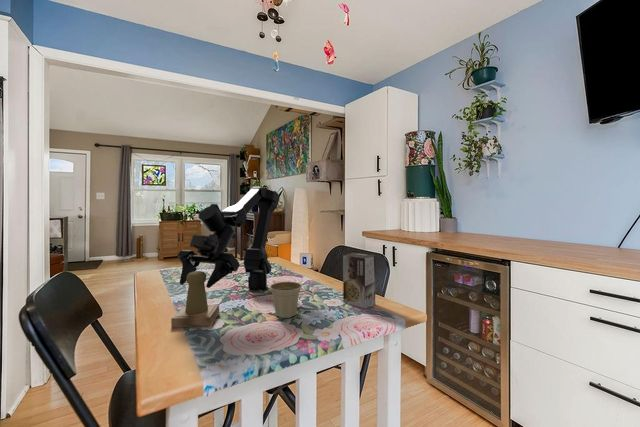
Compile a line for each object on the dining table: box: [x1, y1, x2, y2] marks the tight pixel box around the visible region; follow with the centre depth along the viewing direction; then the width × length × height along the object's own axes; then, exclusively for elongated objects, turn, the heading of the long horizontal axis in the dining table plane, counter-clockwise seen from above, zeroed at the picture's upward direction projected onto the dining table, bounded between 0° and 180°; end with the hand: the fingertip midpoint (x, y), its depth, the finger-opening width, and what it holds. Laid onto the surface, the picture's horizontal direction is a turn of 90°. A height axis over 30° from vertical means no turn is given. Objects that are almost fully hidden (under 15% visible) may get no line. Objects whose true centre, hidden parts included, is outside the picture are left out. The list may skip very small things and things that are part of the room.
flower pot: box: [269, 281, 302, 319], centre depth 90 cm, size 9×9×9 cm
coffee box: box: [342, 252, 376, 309], centre depth 100 cm, size 9×6×16 cm
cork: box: [185, 270, 209, 314], centre depth 85 cm, size 6×6×11 cm
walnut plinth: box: [170, 304, 220, 329], centre depth 85 cm, size 10×10×3 cm
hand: (193, 285), depth 84 cm, fingers open, 9 cm apart
